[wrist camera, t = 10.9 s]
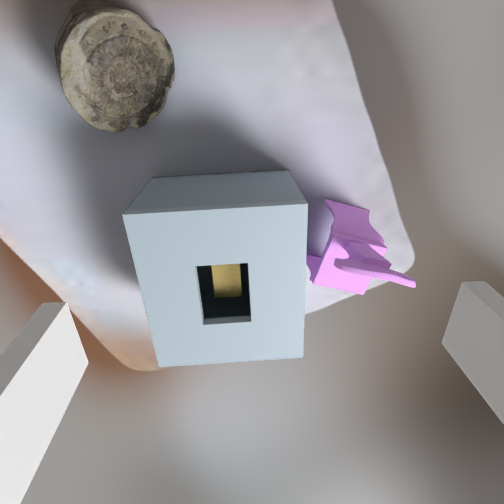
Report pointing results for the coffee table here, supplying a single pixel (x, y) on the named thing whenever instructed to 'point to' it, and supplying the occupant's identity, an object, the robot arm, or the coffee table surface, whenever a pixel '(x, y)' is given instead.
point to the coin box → (219, 253)
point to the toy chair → (352, 253)
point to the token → (227, 280)
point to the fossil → (113, 66)
